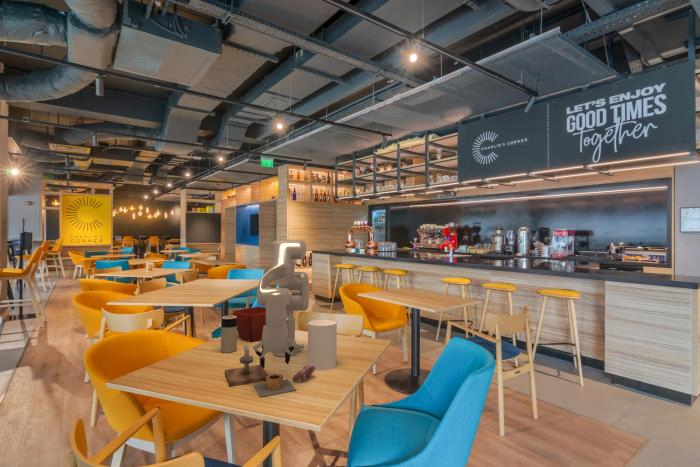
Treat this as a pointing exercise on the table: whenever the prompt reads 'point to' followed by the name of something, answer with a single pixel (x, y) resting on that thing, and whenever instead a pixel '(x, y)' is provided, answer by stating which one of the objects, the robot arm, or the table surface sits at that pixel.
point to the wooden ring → (274, 382)
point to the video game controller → (304, 373)
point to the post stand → (245, 372)
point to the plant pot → (250, 323)
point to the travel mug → (229, 334)
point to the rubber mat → (286, 388)
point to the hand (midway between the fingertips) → (275, 365)
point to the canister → (322, 344)
